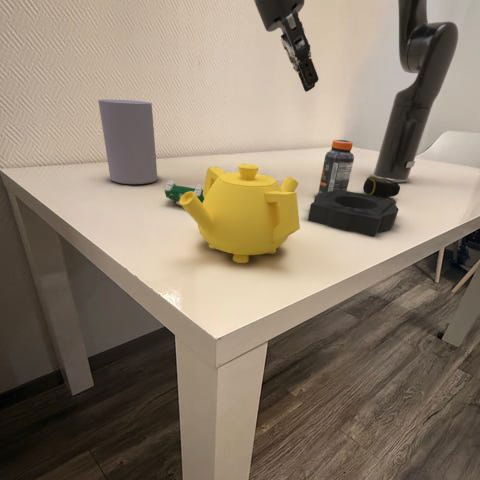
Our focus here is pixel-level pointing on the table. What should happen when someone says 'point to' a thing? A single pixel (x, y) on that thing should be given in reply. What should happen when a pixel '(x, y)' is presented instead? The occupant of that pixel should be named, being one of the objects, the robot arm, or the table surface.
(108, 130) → the container
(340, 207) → the socket pad
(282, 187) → the teapot
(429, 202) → the table surface
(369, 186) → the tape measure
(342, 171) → the pill bottle
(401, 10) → the robot arm
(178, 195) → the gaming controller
